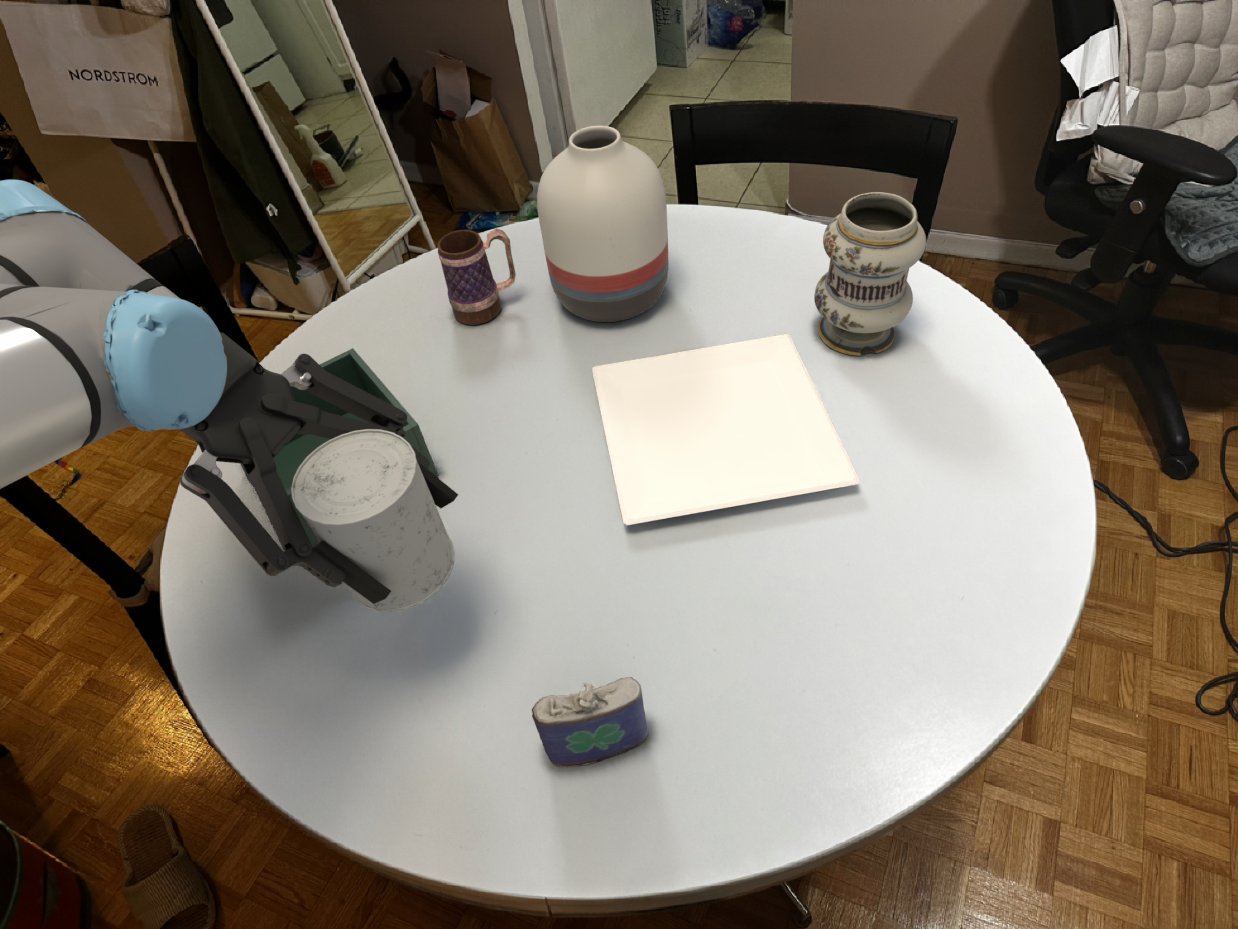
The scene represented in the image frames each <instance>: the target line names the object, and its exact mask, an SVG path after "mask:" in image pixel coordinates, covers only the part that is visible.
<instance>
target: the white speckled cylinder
mask: <svg viewBox="0 0 1238 929" xmlns="http://www.w3.org/2000/svg"><path fill="white" fill-rule="evenodd" d="M291 491H292V500H293V502H294V504H295V507H296V509H297V510H298V511H299V512H300V513H301V514H302V515H303V517H304V519H305V520H306V522H307V523H308V525H309V526H310V528H311V530H312V531H313V533H314V534H315V536H316V537H317V539H318V541H319V542H321V541H325V542H326V543H327V544H329V545H330V546H331V547H333V548H334V549H335V550H337V551H338V552H340V553H341V554H342V555H344V556H345V557H346V558H348V559H349V560H350V561H352V562H353V563H354V564H356V565H357V566H358V567H360V568H361V569H362V570H364V571H365V572H367V573H368V574H369V575H371V576H372V577H373V578H375V579H376V580H377V581H379V582H380V583H381V584H383V585H384V586H385V587H387V588H388V589H390V590H391V592H390V594H389V595H388V597H387V598H386V599H384V600H382V601H380V602H377V603H375V604H373V603H371V602H370V601H369V600H367V599H366V598H365V597H363V596H362V595H360V594H359V593H358V592H356V591H355V590H354V589H352V588H351V587H349V586H348V585H347V584H345V585H346V586H347V588H348V591H349V593H350V595H351V596H352V597H353V599H354V600H356V602H357V603H359V604H361V606H363V607H365V608H367V609H370V610H373V611H376V612H384V613H385V612H387V613H392V612H400V611H401V612H402V611H405V610H408V609H411V608H415V607H417V606H418V605H421V604H423V603H424V602H425V601H428V600H429V599H430V598H431V597H433V596H434V595H435V594H437V593H438V592H439V591H440V589H441V588H442V587H443V586H444V585H445V584H446V583H447V580H448V579H449V578H450V575H451V574H452V571H453V568H454V564H455V554H456V552H455V547H454V544H453V543H454V542H453V540H452V539H451V538H450V535H449V534H448V532H447V531H448V530H447V529H446V526H445V524H444V522H443V519H442V517H441V515H440V512H439V510H438V508H437V505H435V503H434V500H433V498H432V496H431V493H430V491H429V488H428V486H427V484H426V481H425V479H424V477H423V474H422V472H421V469H420V467H419V465H418V462H417V460H416V455H415V452H414V450H413V449H412V447H411V445H410V444H409V443H408V442H407V441H406V440H405V439H404V438H402V437H401V436H399V435H397V434H395V433H393V432H389V431H385V430H378V429H365V430H357V431H353V432H349V433H346V434H342V435H340V436H337V437H335V438H333V439H331V440H329V441H327V442H325V443H324V444H322V445H321V446H319V447H318V448H316V449H315V450H314V451H313V452H312V453H311V454H310V455H308V456H307V457H306V459H305V460H304V461H303V462H302V464H301V465H300V466H299V468H298V470H297V472H296V474H295V476H294V478H293V483H292V487H291Z"/></svg>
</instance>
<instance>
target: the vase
mask: <svg viewBox="0 0 1238 929" xmlns="http://www.w3.org/2000/svg"><path fill="white" fill-rule="evenodd" d="M665 187H666V186H665V182H664V181H663V177H662V174H661V172H660V170H659V169H658V166H657V165H656V163H655V162H654V160H653V159H652V158H651V157H650V156H649V155H647V153H645V152H644V151H643V150H641V149H639V148H638V147H636V146H634V145H632V144H630V143H628V142H626V141H624V140H623V139H622V136H621V133H620V131H619V130H617V129H616V128H614V127H611V126H607V125H590V126H586V127H582V128H580V129H578V130H575V131H574V132H573V133H572V134H571V135H570V136H569V139H568V146H567V147H566V148H564V150H562V151H561V152H560V153H558V154H557V155H556V156H555V157H554V158H553V159H551V161H550V162H549V163H548V165H547V166H546V167H545V169H544V170H543V173H542V175H541V177H540V180H539V183H538V187H537V193H536V207H537V216H538V222H539V223H538V224H539V228H540V234H541V239H542V245H543V251H544V256H545V261H546V266H547V271H548V275H549V276H548V277H549V280H550V284H551V287H552V290H553V293H554V294H555V296H556V298H557V299H558V301H559V303H561V305H562V306H563V307H564V308H565V309H566V310H567V311H568V312H570V313H571V314H572V315H574V316H577V317H579V318H582V319H584V320H587V321H592V322H598V323H613V322H622V321H625V320H628V319H632V318H635V317H637V316H639V315H641V314H643V313H645V312H646V311H647V310H649V309H650V308H652V307H653V306H654V305H655V304H656V303H657V301H658V300H659V299H660V297H661V296H662V294H663V292H664V289H665V287H666V285H667V280H668V276H669V232H668V207H667V206H668V204H667V195H666V188H665Z"/></svg>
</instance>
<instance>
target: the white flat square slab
mask: <svg viewBox="0 0 1238 929" xmlns="http://www.w3.org/2000/svg"><path fill="white" fill-rule="evenodd" d="M591 371H592V376H593V381H594V385H595V391H596V395H597V400H598V405H599V411H600V415H601V416H600V417H601V420H602V425H603V431H604V435H605V439H606V445H607V450H608V454H609V459H610V460H609V461H610V464H611V470H612V475H613V479H614V484H615V490H616V494H617V498H618V503H619V509H620V514H621V519H622V523H623V524H624V525H626V526H631V525H637V524H643V523H648V522H654V521H659V520H665V519H669V518H670V519H671V518H675V517H682V516H688V515H692V514H698V513H704V512H710V511H716V510H721V509H727V508H731V507H737V506H743V505H749V504H755V503H760V502H766V501H771V500H777V499H783V498H788V497H794V496H800V495H804V494H811V493H817V492H822V491H828V490H833V489H838V488H844V487H851V486H856V485H859V484H860V482H861V480H860V478H859V476H858V474H857V471H856V469H855V467H854V465H853V463H852V460H851V459H850V456H849V455H848V453H847V451H846V448H845V446H844V444H843V442H842V440H841V438H840V436H839V434H838V432H837V430H836V428H835V426H834V424H833V422H832V419H831V417H830V415H829V414H828V413H829V412H828V411H827V409H826V407H825V405H824V403H823V400H822V398H821V396H820V394H819V392H818V391H817V388H816V387H815V384H814V382H813V379H812V378H811V376H810V374H809V372H808V369H807V368H806V365H805V364H804V362H803V360H802V357H801V354H800V353H799V351H798V349H797V347H796V345H795V343H794V341H793V338H792V337H791V335H790V334H787V333H784V334H777V335H771V336H765V337H761V338H754V339H748V340H743V341H736V342H731V343H724V344H718V345H712V346H708V347H700V348H694V349H689V350H688V349H687V350H683V351H678V352H672V353H665V354H659V355H654V356H647V357H642V358H636V359H630V360H624V361H618V362H613V363H607V364H600V365H595V366H593V367H592V368H591Z"/></svg>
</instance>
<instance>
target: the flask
mask: <svg viewBox="0 0 1238 929" xmlns="http://www.w3.org/2000/svg"><path fill="white" fill-rule="evenodd" d="M581 687H585V690H584V691H582V690H581V691H579V692H577V693H572V694H570V693H569V694H564V695H562V694H560V695H559V694H558V695H555V694H551V695H547V696H546V695H545V696H543V697H541V698H539V699H538V700H537V702H535V703H534V705H533V707H532V708H531V713H532V714H531V718H532V720H533V722H534V725H535V728H536V731H537V734H538V736H539V739H540V741H541V744H542V747H543V750H544V753H545V754H546V756H547V758H548V760H549V762H550V763H551V764H552V765H553V766H556V767H558V768H560V767H563V768H571V767H581V766H585V765H586V766H588V765H593V764H595V763H599V762H601V761H604V760H606V759H610V758H613V757H615V756H618V755H620V754H624V753H627V752H628V751H630V750H634V749H636V748H637V747H638V746H639V745H641V744H643V743H644V741H646V738H647V737H648V733H649V730H648V729H649V728H648V723H647V719H646V718H647V717H646V711H645V705H644V698H643V690H642V685H641V684H640V682H639V681H638V680H637V679H635V678H633V677H632V676H625V677H621V678H619V679H616V680H615V681H612V682H609V683H607V684H605V685H603V686H598V687H597V688H596V687H595V686H594V685H593V684H592V683H587V682H583V683H582V684H581ZM594 687H595V688H594Z"/></svg>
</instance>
